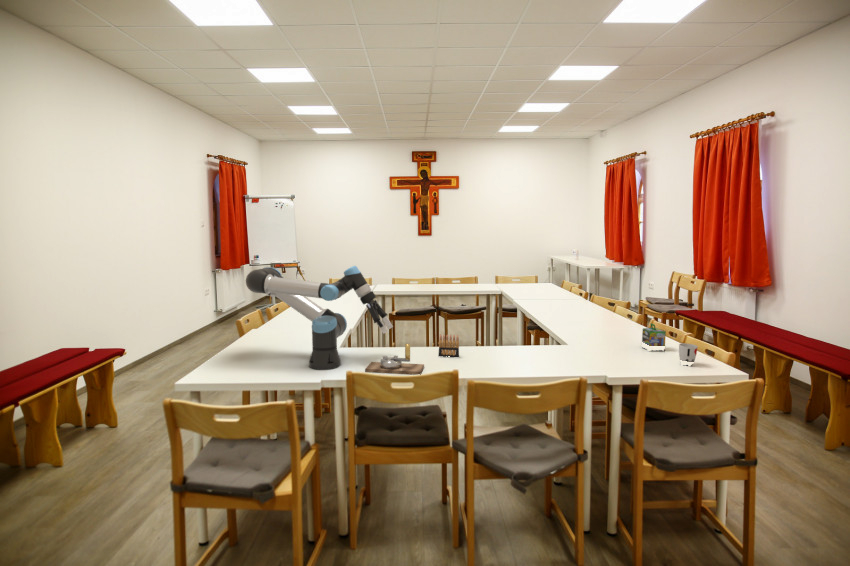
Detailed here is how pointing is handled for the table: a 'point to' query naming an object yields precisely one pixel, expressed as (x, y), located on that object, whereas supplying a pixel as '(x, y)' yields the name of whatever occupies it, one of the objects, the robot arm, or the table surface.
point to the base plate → (403, 369)
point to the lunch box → (653, 336)
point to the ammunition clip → (449, 346)
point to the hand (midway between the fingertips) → (388, 330)
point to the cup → (687, 352)
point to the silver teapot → (395, 360)
